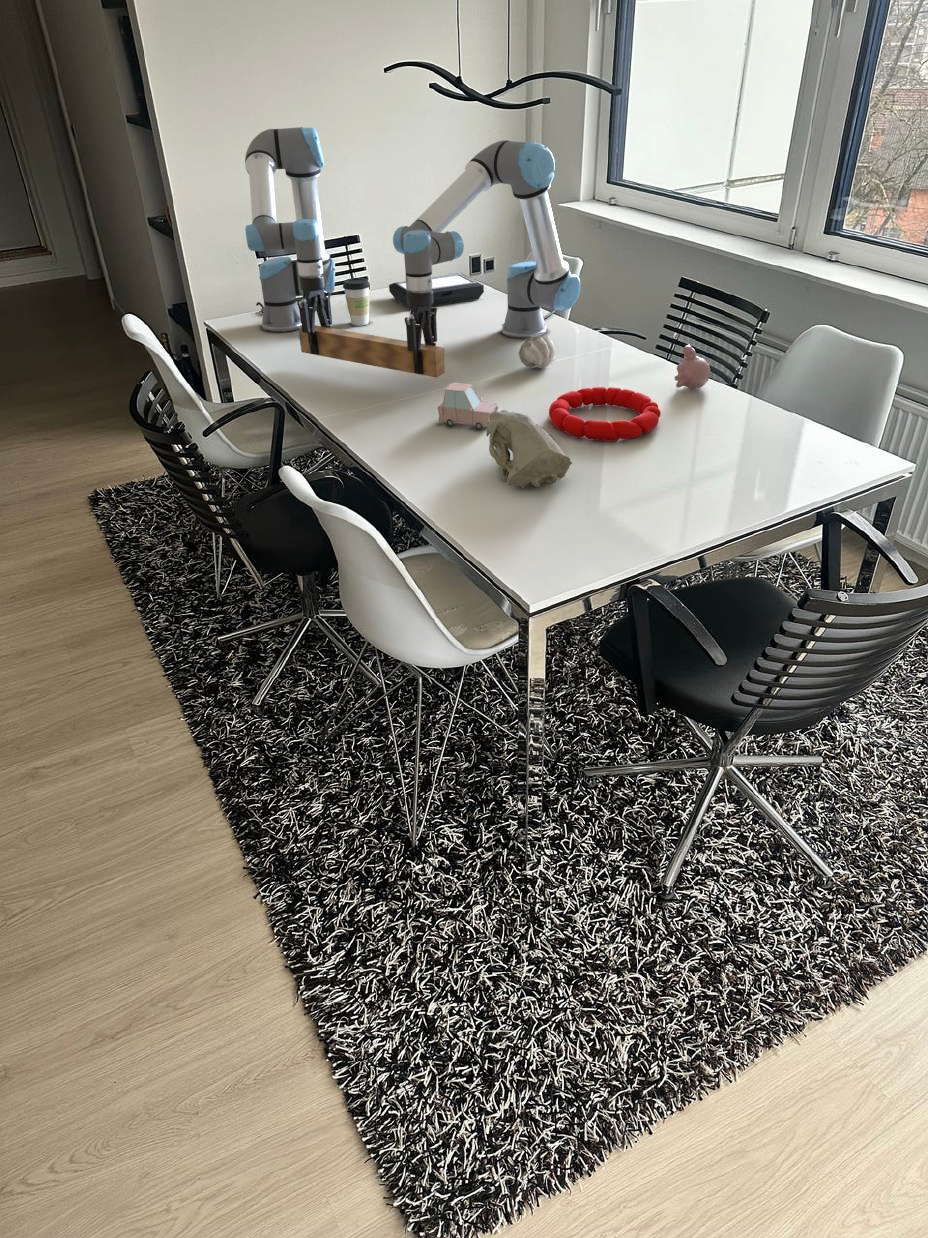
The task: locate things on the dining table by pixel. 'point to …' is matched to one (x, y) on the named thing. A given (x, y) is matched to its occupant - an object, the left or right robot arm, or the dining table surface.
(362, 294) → the coffee cup
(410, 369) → the bar
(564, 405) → the decorative ring
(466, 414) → the toy car
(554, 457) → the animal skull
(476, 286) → the electronic device
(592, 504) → the dining table surface
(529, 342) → the seashell
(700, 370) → the figurine
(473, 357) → the dining table surface
